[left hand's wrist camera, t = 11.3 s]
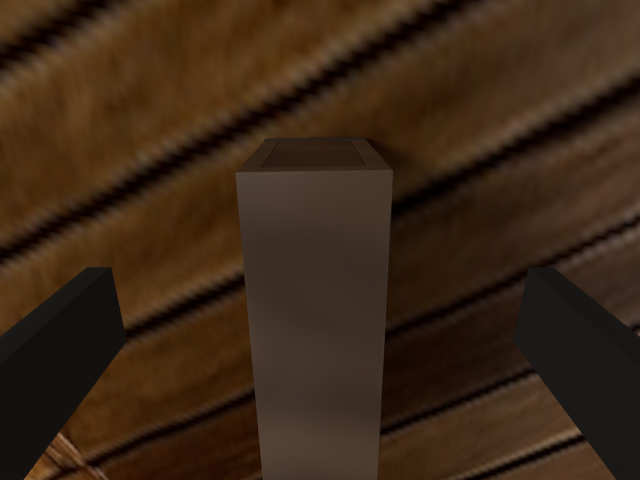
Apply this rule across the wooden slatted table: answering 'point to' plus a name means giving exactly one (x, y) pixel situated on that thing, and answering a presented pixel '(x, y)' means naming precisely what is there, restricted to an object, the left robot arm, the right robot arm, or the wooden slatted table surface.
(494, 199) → the wooden slatted table surface
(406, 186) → the wooden slatted table surface
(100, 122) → the wooden slatted table surface
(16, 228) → the wooden slatted table surface
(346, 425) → the cabinet
